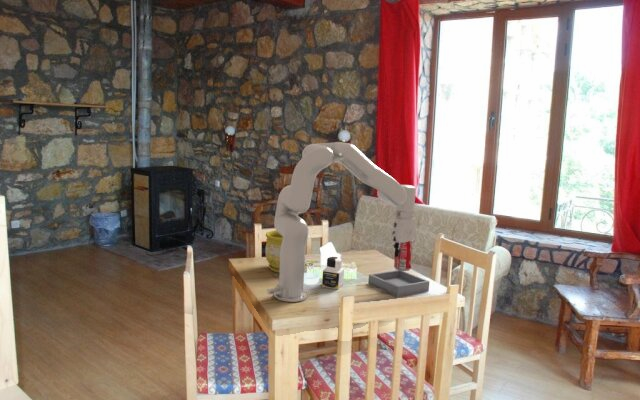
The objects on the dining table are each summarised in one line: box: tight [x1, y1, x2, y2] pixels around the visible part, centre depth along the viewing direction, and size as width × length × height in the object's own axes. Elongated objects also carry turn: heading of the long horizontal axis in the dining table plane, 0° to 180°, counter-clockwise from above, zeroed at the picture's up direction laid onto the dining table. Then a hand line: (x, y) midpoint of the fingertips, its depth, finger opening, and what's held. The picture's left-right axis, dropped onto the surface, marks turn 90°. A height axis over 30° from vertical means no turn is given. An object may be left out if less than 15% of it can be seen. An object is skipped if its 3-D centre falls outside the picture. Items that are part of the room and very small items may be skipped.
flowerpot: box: [264, 229, 283, 274], centre depth 232 cm, size 18×18×16 cm
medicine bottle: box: [321, 256, 345, 290], centre depth 214 cm, size 7×7×12 cm
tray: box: [367, 269, 430, 298], centre depth 218 cm, size 18×18×4 cm
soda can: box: [393, 240, 414, 272], centre depth 217 cm, size 7×7×13 cm
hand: (400, 257), depth 216 cm, fingers closed on soda can, 3 cm apart
